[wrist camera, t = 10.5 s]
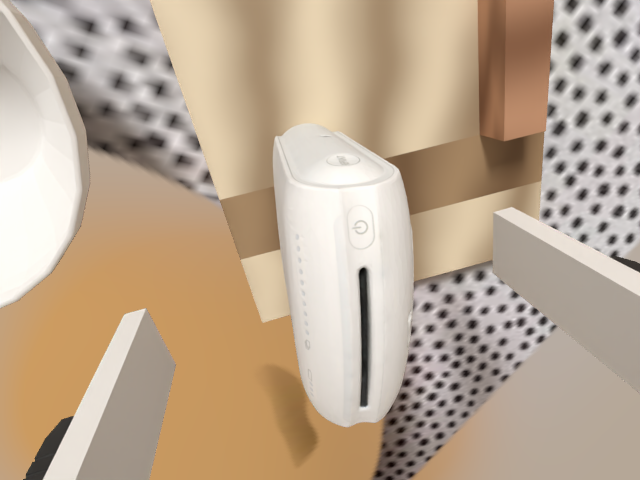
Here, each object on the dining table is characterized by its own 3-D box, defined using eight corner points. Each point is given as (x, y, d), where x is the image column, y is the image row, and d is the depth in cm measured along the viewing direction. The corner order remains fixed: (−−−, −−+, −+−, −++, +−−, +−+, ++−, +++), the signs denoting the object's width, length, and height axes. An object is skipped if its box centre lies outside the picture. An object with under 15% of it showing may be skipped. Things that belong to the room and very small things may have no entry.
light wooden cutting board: (261, 309, 26) (262, 322, 25) (120, -103, 16) (108, -119, 15) (523, 239, 27) (537, 247, 26) (541, -187, 17) (565, -209, 16)
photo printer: (265, 123, 20) (278, 188, 9) (343, 117, 20) (451, 170, 9) (283, 287, 24) (309, 471, 13) (348, 278, 25) (425, 448, 13)
